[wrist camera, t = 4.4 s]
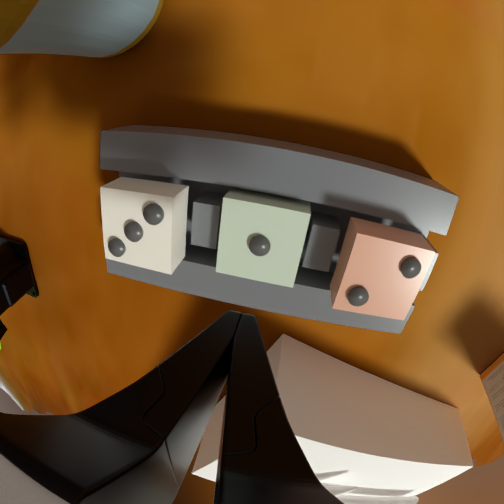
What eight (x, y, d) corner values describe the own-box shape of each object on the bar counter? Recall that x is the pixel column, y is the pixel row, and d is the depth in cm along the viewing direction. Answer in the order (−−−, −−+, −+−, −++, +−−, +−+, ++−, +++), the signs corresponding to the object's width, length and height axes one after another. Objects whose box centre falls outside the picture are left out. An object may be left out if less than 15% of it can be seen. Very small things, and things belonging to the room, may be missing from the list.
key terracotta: (329, 285, 16) (332, 310, 14) (350, 216, 14) (358, 234, 12) (395, 298, 15) (404, 322, 13) (421, 234, 13) (437, 254, 11)
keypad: (132, 248, 21) (107, 272, 18) (132, 124, 17) (100, 130, 14) (389, 301, 19) (400, 333, 16) (433, 180, 15) (458, 196, 12)
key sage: (225, 254, 17) (214, 273, 15) (232, 186, 15) (222, 198, 13) (294, 268, 17) (292, 290, 15) (309, 200, 15) (311, 215, 13)
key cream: (123, 242, 16) (103, 260, 15) (121, 176, 15) (97, 188, 13) (185, 256, 16) (169, 276, 14) (188, 185, 14) (170, 198, 12)
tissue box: (283, 331, 22) (264, 460, 13) (457, 406, 25) (476, 483, 15) (212, 406, 29) (185, 492, 20) (375, 457, 31) (377, 523, 22)
